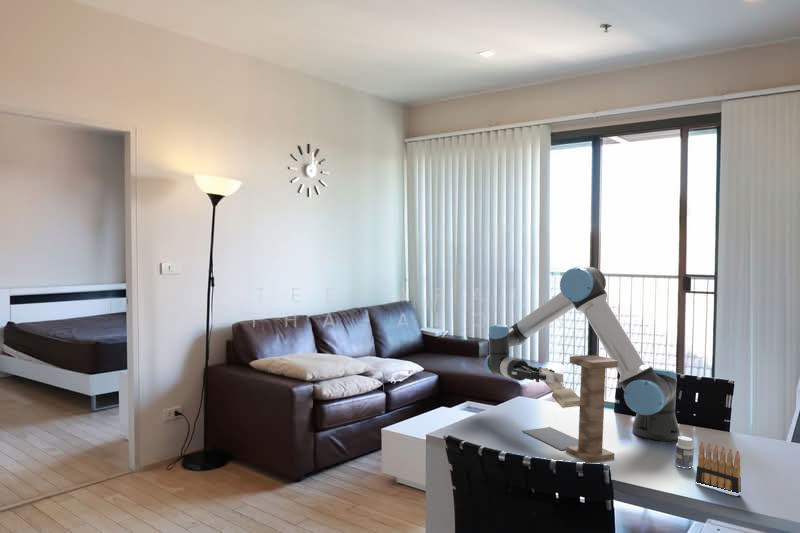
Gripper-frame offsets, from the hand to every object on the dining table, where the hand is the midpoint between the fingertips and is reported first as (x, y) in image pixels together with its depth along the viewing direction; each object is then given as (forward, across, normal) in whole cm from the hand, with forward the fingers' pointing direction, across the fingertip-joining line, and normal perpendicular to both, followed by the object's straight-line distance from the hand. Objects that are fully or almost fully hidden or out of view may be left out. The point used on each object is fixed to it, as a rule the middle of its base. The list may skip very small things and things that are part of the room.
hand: (557, 378), depth 191 cm
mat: (-1, 0, -20) cm, 20 cm away
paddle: (-1, 0, -4) cm, 4 cm away
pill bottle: (+32, -20, -22) cm, 44 cm away
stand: (+15, 0, -21) cm, 26 cm away
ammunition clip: (+48, -13, -23) cm, 55 cm away
